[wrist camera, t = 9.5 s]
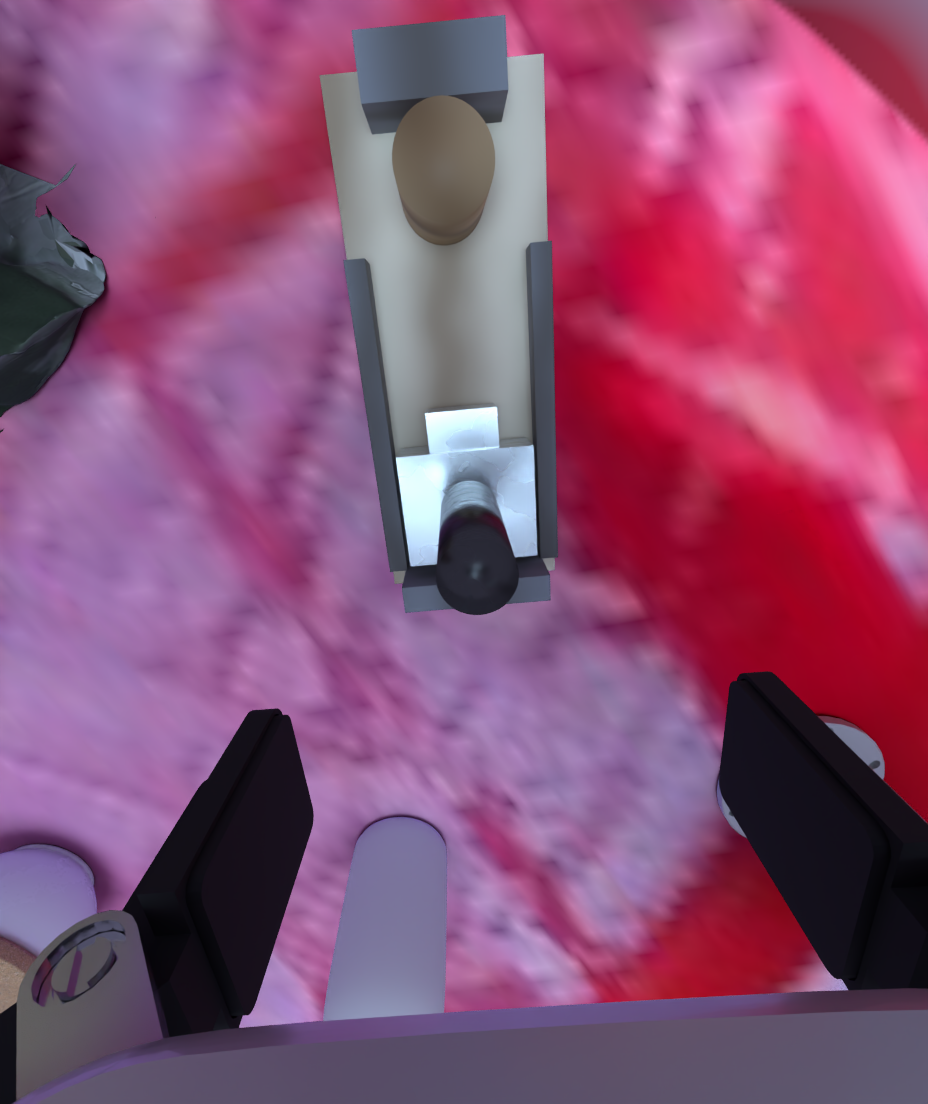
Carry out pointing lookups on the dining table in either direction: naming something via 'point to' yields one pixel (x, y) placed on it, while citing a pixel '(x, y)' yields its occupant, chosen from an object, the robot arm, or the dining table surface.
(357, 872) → the milk bottle
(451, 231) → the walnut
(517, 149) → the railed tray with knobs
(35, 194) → the rose bouquet
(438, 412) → the ram
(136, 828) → the dining table surface
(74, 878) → the lidded bowl
